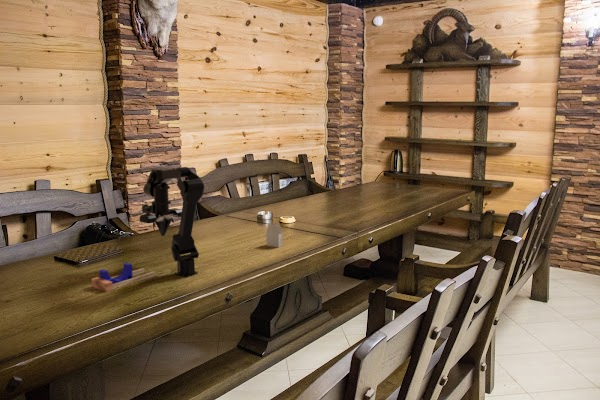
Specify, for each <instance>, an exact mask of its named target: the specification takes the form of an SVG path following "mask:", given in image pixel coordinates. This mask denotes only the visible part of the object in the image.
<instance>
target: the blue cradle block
mask: <svg viewBox="0 0 600 400" xmlns="http://www.w3.org/2000/svg"><path fill="white" fill-rule="evenodd" d="M132 271H133V264H132V263H130V262H129V263H128V262H125V263H123V268H122V270H121V273H119V274H118V275H119V276H118V275H117V276H118V277H116V278H111V276H110V274H109V271H108V270H107V269H106V270H105V269H100V270H99V278H102V279H105V280H108V281H111V282H112V284H115V283H118V282H121V281H125V280H128V279H131V278H134V276H132Z"/></svg>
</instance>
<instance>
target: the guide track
mask: <svg viewBox="0 0 600 400" xmlns="http://www.w3.org/2000/svg"><path fill="white" fill-rule="evenodd" d="M145 272H146V271H145V268H144V267H142V268H140V269H136V270H132V276H133V278H131V279H128V280H125V281H121V282H118V283H115V284H112V282H111V281H108V280H105V279H102V278H100V276H97V277H94V278H91V287H92V288H95V289H97V290H101V291H103V292H110V291H113V290H114V289H117V287H118V288H120V287H121V288H122V287H123V285H124V286H126V285H127V284H128V285H130V283H131V284H133V282H134V283H137V282H140V281H144V280H147V279H150V278H153V277H156V276H157V272H156V271H151V272H148V273H145ZM143 273H144V274H143ZM119 275H120V274H118V275H116V276H112V277H111V276H110V277H111V278H116V277H118V276H119ZM137 275H138V276H137ZM134 276H135V277H134ZM128 285H127V286H128Z"/></svg>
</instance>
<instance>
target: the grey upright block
mask: <svg viewBox="0 0 600 400" xmlns="http://www.w3.org/2000/svg"><path fill="white" fill-rule="evenodd" d="M283 234H284V233H283V230H282V226H281V225H277V224H272V223H271V224H270V223H269V224H267V230H266V234H265V235H266V237H265V238H266V241H265V242H266V247H271V248H273V247H274V248H280V247H284V244H283V243H284V241H283V239H284V238H283V237H284V235H283Z"/></svg>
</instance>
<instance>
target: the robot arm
mask: <svg viewBox="0 0 600 400" xmlns="http://www.w3.org/2000/svg"><path fill="white" fill-rule="evenodd" d="M184 178H186V180H182V179H184ZM172 179H177V182H176V186H177V188H178V189H179V192H180V193H179V194H180V196H181V198H182V200H183V203H182V208H175V207H174V208H170V207H169V206H170V205H171V201H170V200H169V189H171V187H170V185H168V182H170V181H172ZM142 189H143V194H144V195H146V196H149V197H152V198H153V200H152V201H151V205H149V204H148V203H147V204H142V205H141V212H142V213H144V214H141V215H140V216H139V222H140V223H144V224H152V223H154V224H155V225H156V226H157V229H158V230H159V233H160V236H161V237H164V236H165V235H166V233H167V231H168V229H169V226H170V224H171V223H172V221H174V218H172V216H176V217H178V218H180V221H179V229H178V233H176V234H175V233H174V234H173V235H172V240H171V246H170V247H171V248H170V249H171V254H172V258H173V260H174V262H176V263H177V271H176V272H175V273H174V275H178V276H180V277H184V278H187V277H190V276H193V275H195V274H199V272H198V271H196V270H195V266H196V265H195V259H199V254H200V253H199V250H198V249H197V247H196V245H195V240H194V239H195V238H193V235H192V232H193V228H194V227H193V226H194V223H195V222H194V220H195V216H196V215H195V214H196V208H197V204H198V202H199V200H200V199H201V198H203V193H204V189H205V184H204V182H203V180H202V179H201V178H200V176H199V175H197V174H196V173H194V172H193V171H192V170H191V169H190V167H189V166H188V167H187V166H179V167H176V168H171V169H170V168H168V167H163V168H152V169H151V170H150V172H149V176H148V178H147V180H146V183H145V184H144V186H143V188H142Z"/></svg>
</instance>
